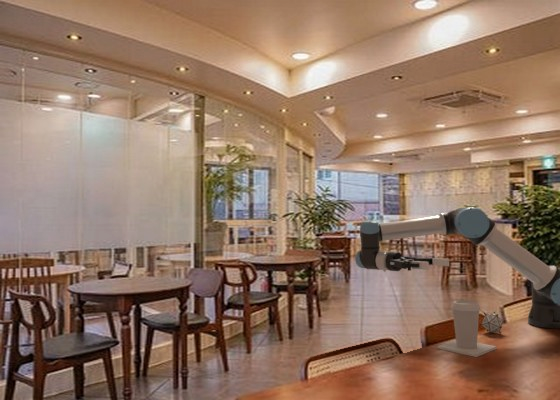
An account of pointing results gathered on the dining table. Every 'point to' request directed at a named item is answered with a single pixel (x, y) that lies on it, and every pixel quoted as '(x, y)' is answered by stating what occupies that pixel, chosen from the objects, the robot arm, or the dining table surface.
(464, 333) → the coffee cup
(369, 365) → the dining table surface
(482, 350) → the mat
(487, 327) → the game die
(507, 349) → the dining table surface
